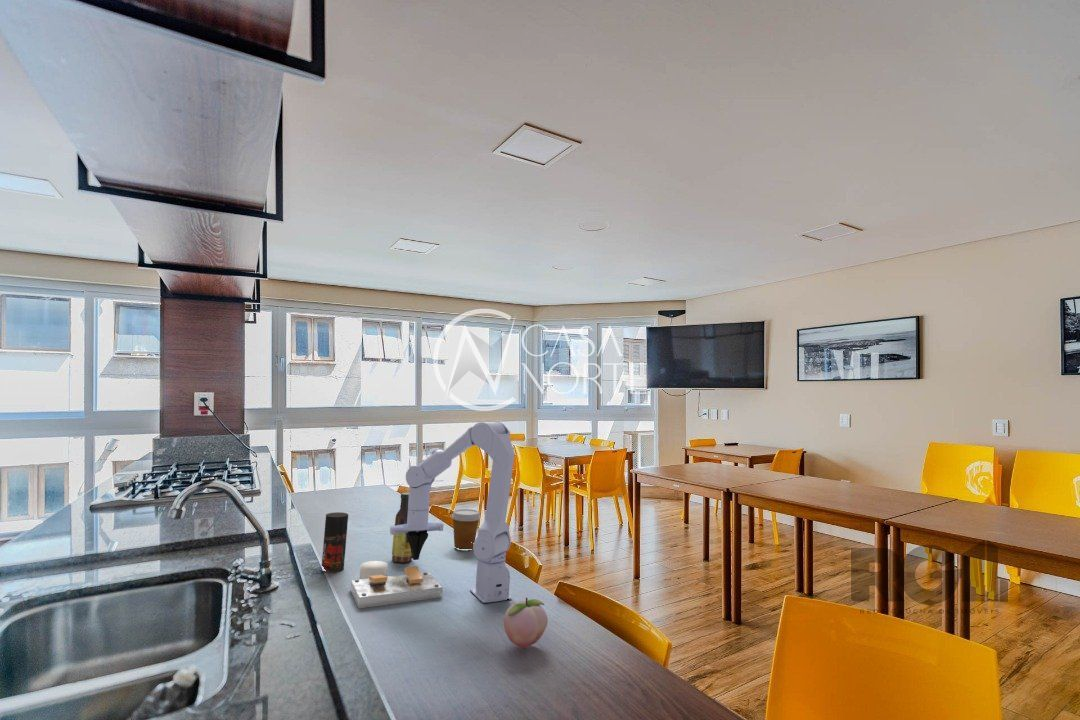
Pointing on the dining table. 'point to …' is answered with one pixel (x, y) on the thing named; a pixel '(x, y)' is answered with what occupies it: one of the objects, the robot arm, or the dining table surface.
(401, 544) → the sauce bottle
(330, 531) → the deodorant
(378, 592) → the breaker panel
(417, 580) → the paddle
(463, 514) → the disposable coffee cup
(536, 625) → the decorative fruit
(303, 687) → the dining table surface
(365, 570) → the white egg-shaped stone
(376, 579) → the paddle
